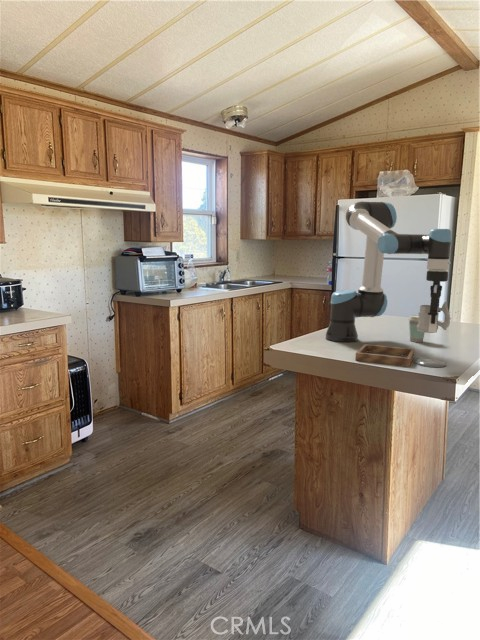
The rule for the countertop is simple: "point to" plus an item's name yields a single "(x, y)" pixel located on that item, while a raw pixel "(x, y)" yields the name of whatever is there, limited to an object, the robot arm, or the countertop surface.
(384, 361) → the walnut tray
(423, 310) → the mug
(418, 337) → the coffee cup
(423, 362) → the grey flat disc
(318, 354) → the countertop surface
